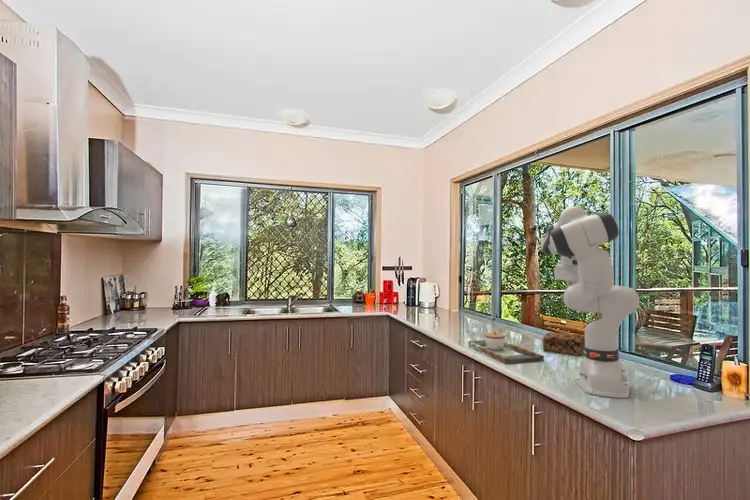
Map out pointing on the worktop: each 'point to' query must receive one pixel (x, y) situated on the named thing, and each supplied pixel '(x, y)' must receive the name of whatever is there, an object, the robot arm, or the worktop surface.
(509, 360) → the wooden serving tray
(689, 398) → the worktop surface
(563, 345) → the bread
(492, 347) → the lidded jar
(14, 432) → the worktop surface
